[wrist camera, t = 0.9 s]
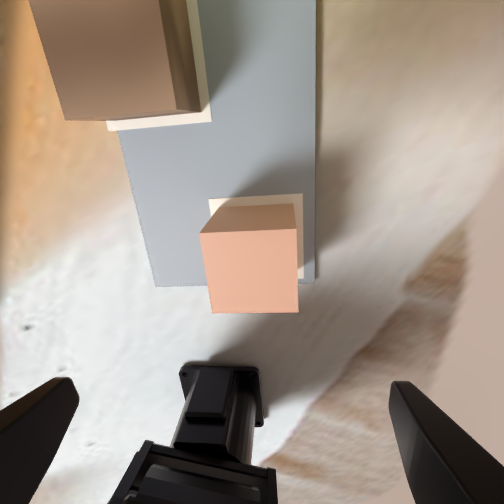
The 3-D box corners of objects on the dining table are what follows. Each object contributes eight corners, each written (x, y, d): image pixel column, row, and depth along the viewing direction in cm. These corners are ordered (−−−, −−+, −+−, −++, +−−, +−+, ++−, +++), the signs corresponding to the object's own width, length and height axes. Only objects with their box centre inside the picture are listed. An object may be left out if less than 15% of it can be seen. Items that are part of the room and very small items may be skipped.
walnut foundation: (201, 112, 16) (176, 109, 12) (114, 120, 16) (65, 120, 13) (185, -6, 14) (149, -53, 10) (86, 9, 14) (19, -30, 11)
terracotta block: (295, 271, 19) (298, 312, 15) (227, 273, 19) (212, 313, 15) (293, 203, 17) (296, 228, 13) (218, 207, 18) (199, 233, 14)
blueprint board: (313, 280, 20) (314, 283, 19) (151, 284, 21) (148, 287, 21) (315, -42, 13) (316, -47, 13) (78, -5, 14) (72, -8, 14)
